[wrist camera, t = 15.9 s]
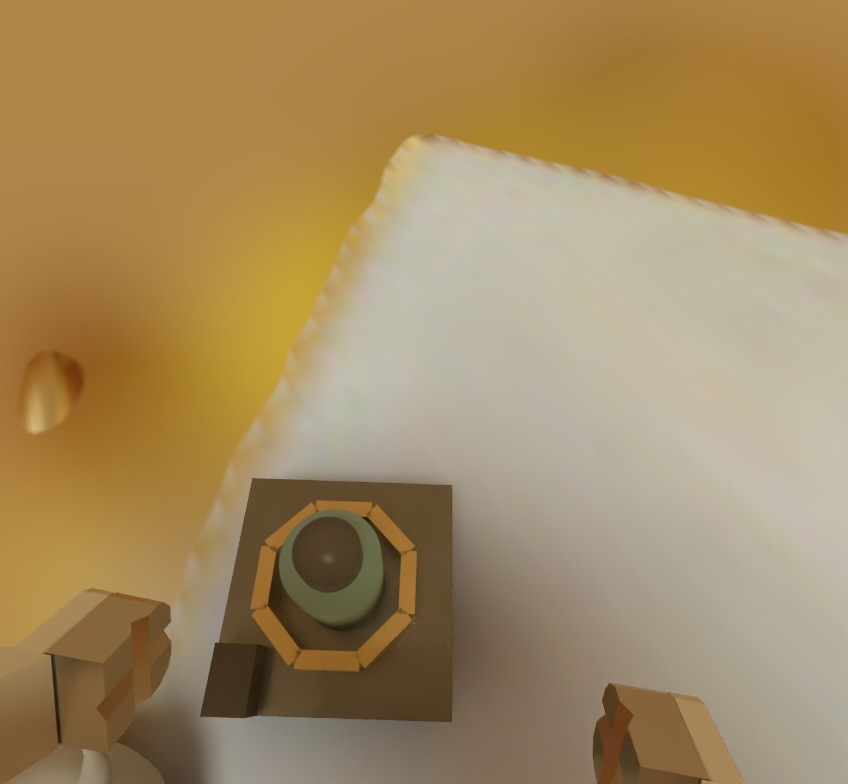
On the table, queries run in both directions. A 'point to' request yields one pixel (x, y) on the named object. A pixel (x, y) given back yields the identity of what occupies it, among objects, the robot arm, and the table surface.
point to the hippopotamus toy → (91, 768)
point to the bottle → (334, 568)
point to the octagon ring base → (339, 649)
